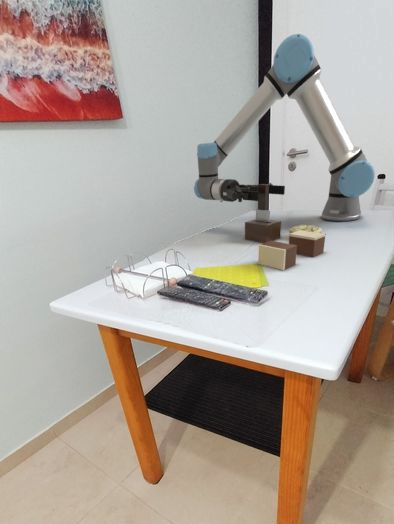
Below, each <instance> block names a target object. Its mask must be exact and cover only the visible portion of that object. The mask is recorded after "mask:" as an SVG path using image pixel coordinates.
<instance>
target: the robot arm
mask: <svg viewBox="0 0 394 524" xmlns="http://www.w3.org/2000/svg"><path fill="white" fill-rule="evenodd" d="M321 74H322V68H321V66H320V64H319V62H318V60H317V58H316V56H315V50H314V45H313V43H312V42H311V40H310V39H309V38H308V36H307V35H304V34H301V33H294V34H291V35H289V36H287V37H286V38H284V39H283V41H281V42H280V43H279V45H278V47H277V49H276V51H275V53H274V56H273V64H272V66H271V67H270V69H269V70H268V71H267V72H266V74H265V75H264V77H263V82H262V83H261V85H260V86H259V87H258V88H257V90H256V91H255V92H254V93H253V94H252V96H250V97H249V99H247V101H246V103H244V105H243V106H242V107H241V109H240V110H239V111H238V112H237V113H236V114H235V116H234V117H233V118H232V120H231V121H230V122H229V123H228V124H227V125H226V127H225V128H224V129H223V130H222V132H220V134H219V135H218V137H216V138H215V140H214V141H213V142H204V143H198V144H197V145H196V149H197V150H196V151H197V152H196V156H197V167H198V168H197V169H198V179H197V180H196V181H195V182H194V186H193V192H194V194H195V196H196V197H197V198H199V199H202V200H207V201H220V203H223V202H228V203H229V202H230V203H233V202H236V201H238V203H242V202H243V201H253V202H258V201H259V192H258V185H259V184H240V183H239V181H238V180H236V179H234V178H233V179H232V178H231V179H230V178H219V167H220V166H221V165H222V164H223V162H224V161H225V160H226V158H227V157H228V156H229V155H230V154H231V153H232V152H233V150H234V149H235V148H236V146H238V144H240V142H241V141H242V140H243V139H245V136H247V134H248V133H249V132H250V131H251V130H252V129H253V128H254V126H256V125H257V123H258V122H259V121H260V120H261V119H262V118H263V116H264V115H265V114H266V113H267V112H268V111H269V109H271V108H272V107H273V105H274V104H275V103H276V102H277V101H278V100H283V98H285V96H286V95H287V97H288V99H291V100H295V101H296V103H297V105H298V107H299V108H300V110H301V112H302V114H303V116H304V118H305V120H306V121H307V123H308V125H309V127H310V129H311V131H312V132H313V135H314V136H315V138H316V140H317V142H318V143H319V145H320V148H321V149H322V151H323V153H324V155H325V157H326V158H327V161H328V162H329V166H328V172H329V174H330V182H329V189H328V196H327V197H328V198H327V200H326V203H325V205H324V208H323V210H322V213H321V219H322V220H325V221H329V222H330V221H331V222H350V221H356V220H359V219H360V218H361V215H362V210H361V203H360V196H361V195H364V194H365V193H366V192H368V190H370V188H372V187H371V186H372V185H373V183H374V181H375V174H376V173H375V168H374V166H373V165H372V164H371V162H369V161H368V160H367V158H366V154H365V153H364V151H363V150H362V148H361V147H359V146H355V145H354V144H353V142H352V140H351V137H350V136H349V134H348V132H347V130H346V128H345V126H344V124H343V122H342V120H341V118H340V116H339V114H338V112H337V110H336V108H335V106H334V104H333V102H332V100H331V98H330V96H329V95H328V92H327V90H326V88H325V86H324V85H323V82H322V80H321ZM268 184H269V195H281V196H283V195H285V191H286V186H285V185H277V184H276V185H275V184H274V185H273V184H272V182H269V183H268Z"/></svg>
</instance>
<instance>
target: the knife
mask: <svg viewBox="0 0 394 524" xmlns="http://www.w3.org/2000/svg"><path fill="white" fill-rule="evenodd" d="M257 185H258V192H259V201H257V208H255V219H256V221H257V222H264V223H270V220H271V218H270V217H271V210H270V209H269V196H270V194H269V183H259V184H257Z"/></svg>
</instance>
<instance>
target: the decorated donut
mask: <svg viewBox="0 0 394 524" xmlns="http://www.w3.org/2000/svg"><path fill="white" fill-rule="evenodd" d="M299 230H303V231H309V232H316V233H322V232H323V229H322V228H321V227H319V226H316V225H312V224H298V225H294V226H292V227H291V228H290V229H289V231H288V232H289V234H291V233H293V232H296V231H299Z"/></svg>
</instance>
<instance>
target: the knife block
mask: <svg viewBox="0 0 394 524" xmlns="http://www.w3.org/2000/svg"><path fill="white" fill-rule="evenodd" d="M281 231H282V220H277V219H270V223H264V222H257V221H256V218H254V219H251V220H248V221H245V222H244V240H247V241H252V242H256V243H257V242H258V243H261V244H263V243H266V242H269V241H276V240H279V239H281V235H282V233H281Z"/></svg>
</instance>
